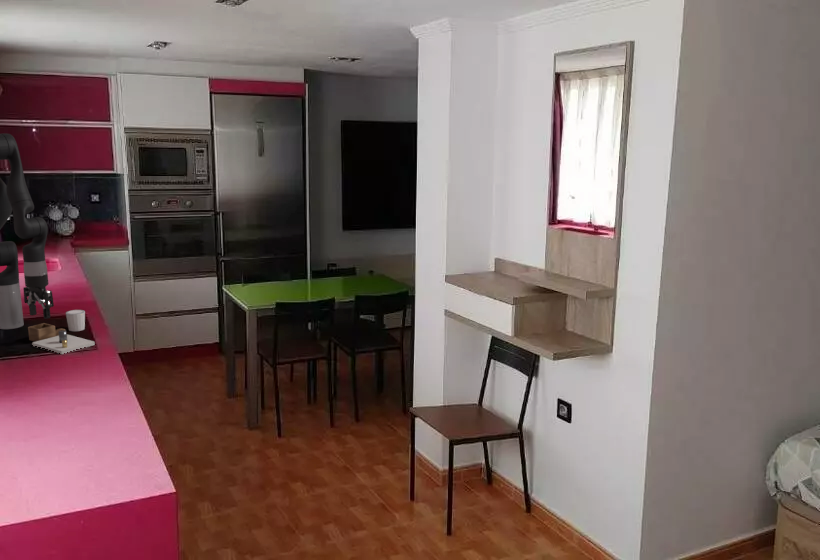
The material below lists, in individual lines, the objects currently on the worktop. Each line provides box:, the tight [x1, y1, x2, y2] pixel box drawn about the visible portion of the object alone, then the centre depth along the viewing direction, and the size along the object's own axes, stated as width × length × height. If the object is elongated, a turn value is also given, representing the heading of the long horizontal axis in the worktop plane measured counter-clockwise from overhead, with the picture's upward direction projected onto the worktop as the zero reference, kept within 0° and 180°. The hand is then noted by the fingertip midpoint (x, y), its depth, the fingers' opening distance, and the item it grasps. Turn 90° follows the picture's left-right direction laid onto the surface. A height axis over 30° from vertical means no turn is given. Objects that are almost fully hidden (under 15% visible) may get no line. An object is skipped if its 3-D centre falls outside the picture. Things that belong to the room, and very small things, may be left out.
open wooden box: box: [27, 322, 66, 342], centre depth 270 cm, size 12×6×5 cm, turn 149°
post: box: [59, 329, 67, 343], centre depth 261 cm, size 3×3×4 cm
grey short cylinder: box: [65, 309, 86, 332], centre depth 281 cm, size 7×7×7 cm
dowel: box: [62, 340, 67, 348], centre depth 256 cm, size 2×2×2 cm
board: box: [31, 334, 96, 355], centre depth 262 cm, size 17×13×1 cm
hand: (40, 316), depth 266 cm, fingers open, 8 cm apart
